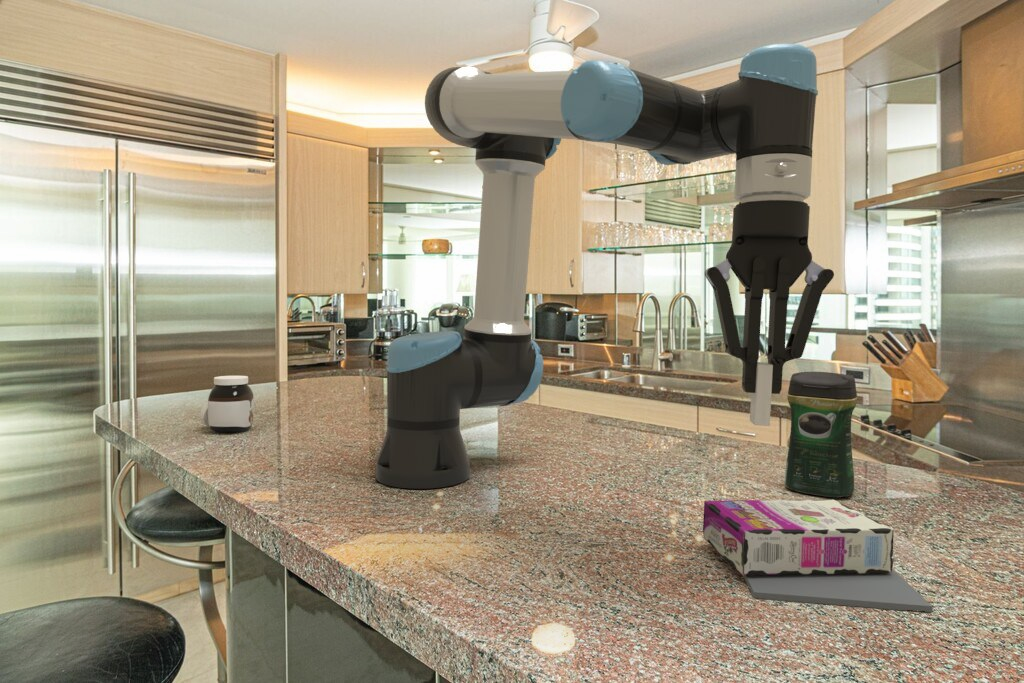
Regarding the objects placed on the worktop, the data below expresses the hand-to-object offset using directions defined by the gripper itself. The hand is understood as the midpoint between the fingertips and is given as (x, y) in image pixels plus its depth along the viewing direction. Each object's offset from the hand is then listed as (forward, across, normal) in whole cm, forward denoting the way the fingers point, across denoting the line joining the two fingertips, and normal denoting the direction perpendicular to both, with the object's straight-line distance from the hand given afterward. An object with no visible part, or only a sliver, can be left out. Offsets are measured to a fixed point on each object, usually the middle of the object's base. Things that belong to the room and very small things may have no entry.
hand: (759, 423), depth 70 cm
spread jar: (+18, -98, +56) cm, 114 cm away
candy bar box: (+13, -4, 0) cm, 13 cm away
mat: (+16, +6, 0) cm, 17 cm away
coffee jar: (+16, +16, +32) cm, 40 cm away
